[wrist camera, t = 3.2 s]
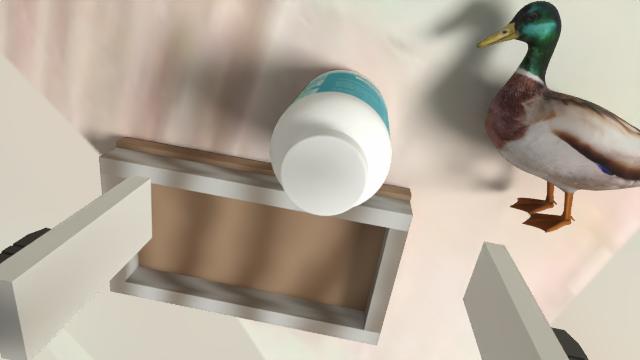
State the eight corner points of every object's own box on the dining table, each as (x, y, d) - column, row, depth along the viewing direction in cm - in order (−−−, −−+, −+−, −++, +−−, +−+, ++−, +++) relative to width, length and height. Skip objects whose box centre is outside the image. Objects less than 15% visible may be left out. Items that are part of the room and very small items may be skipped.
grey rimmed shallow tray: (133, 270, 43) (110, 295, 39) (126, 137, 36) (98, 151, 33) (375, 319, 41) (375, 349, 38) (409, 189, 35) (414, 210, 31)
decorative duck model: (492, -1, 23) (804, -30, 20) (468, 11, 30) (697, -9, 28) (480, 236, 28) (735, 238, 25) (461, 198, 35) (658, 196, 32)
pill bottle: (316, 53, 32) (281, 82, 19) (402, 89, 32) (421, 140, 20) (285, 137, 35) (238, 208, 22) (364, 169, 35) (360, 257, 23)
